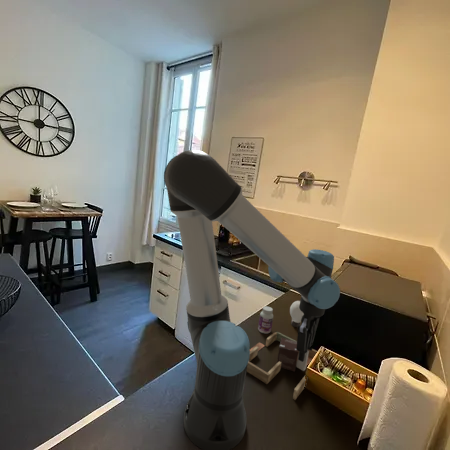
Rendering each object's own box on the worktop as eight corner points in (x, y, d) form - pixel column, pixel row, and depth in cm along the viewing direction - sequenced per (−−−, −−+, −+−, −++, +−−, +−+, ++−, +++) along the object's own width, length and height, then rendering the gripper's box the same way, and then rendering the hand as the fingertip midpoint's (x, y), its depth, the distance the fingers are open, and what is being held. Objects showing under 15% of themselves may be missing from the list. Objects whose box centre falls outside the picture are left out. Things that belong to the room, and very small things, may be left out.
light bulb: (292, 319, 120) (296, 296, 119) (306, 326, 116) (310, 302, 114) (284, 323, 115) (288, 300, 114) (298, 331, 111) (303, 306, 109)
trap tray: (294, 401, 73) (295, 392, 73) (232, 362, 86) (234, 354, 86) (322, 362, 92) (324, 354, 92) (269, 335, 105) (270, 328, 105)
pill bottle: (260, 334, 105) (264, 311, 103) (255, 327, 110) (259, 305, 108) (273, 333, 106) (276, 311, 105) (267, 326, 111) (270, 305, 110)
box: (295, 361, 91) (299, 342, 90) (294, 372, 85) (298, 352, 84) (278, 356, 93) (281, 336, 92) (275, 366, 87) (279, 346, 86)
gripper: (317, 310, 74) (303, 384, 78) (332, 298, 85) (319, 364, 88) (293, 300, 79) (281, 371, 83) (309, 290, 89) (298, 353, 93)
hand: (300, 367), depth 86 cm, fingers closed
